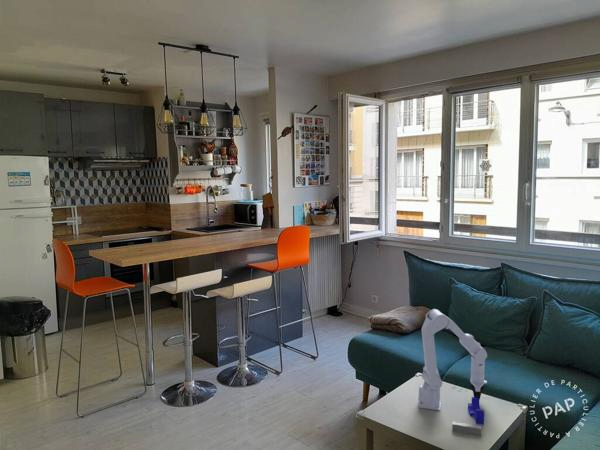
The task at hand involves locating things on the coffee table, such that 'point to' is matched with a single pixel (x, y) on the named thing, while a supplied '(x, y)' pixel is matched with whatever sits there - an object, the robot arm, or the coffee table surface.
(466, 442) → the coffee table surface
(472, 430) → the socket strip
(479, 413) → the cable clip
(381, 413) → the coffee table surface
